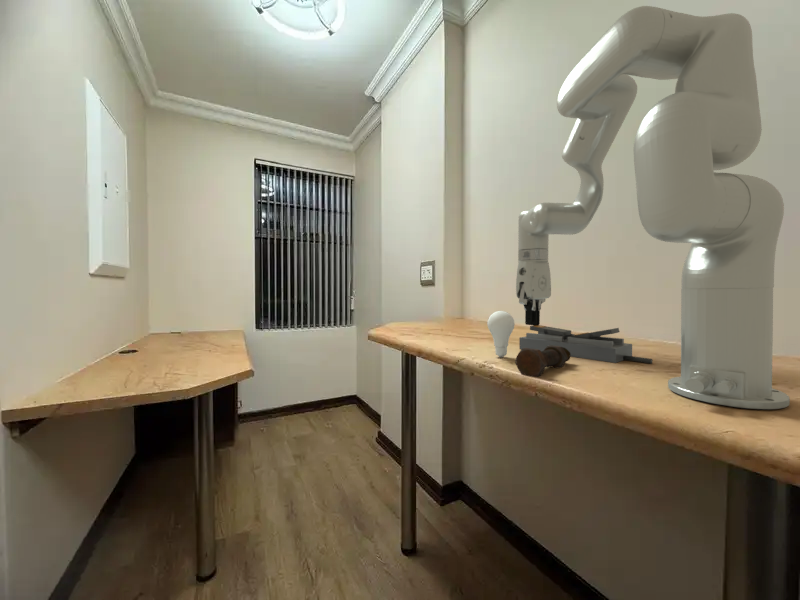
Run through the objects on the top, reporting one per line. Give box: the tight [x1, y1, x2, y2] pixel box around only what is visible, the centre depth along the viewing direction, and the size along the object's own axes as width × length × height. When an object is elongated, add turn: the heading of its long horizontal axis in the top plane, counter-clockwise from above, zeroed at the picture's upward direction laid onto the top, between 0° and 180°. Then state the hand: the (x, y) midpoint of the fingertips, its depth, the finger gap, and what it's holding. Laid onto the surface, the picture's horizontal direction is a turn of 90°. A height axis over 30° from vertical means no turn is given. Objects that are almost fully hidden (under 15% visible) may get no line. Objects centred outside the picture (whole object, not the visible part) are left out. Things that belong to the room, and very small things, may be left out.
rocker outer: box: [529, 324, 572, 336], centre depth 87 cm, size 4×9×1 cm, turn 36°
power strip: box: [518, 331, 653, 364], centre depth 80 cm, size 9×28×4 cm, turn 36°
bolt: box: [515, 345, 572, 378], centre depth 67 cm, size 6×5×15 cm
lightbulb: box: [487, 310, 516, 358], centre depth 79 cm, size 6×6×11 cm
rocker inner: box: [571, 327, 620, 338], centre depth 78 cm, size 4×9×1 cm, turn 36°
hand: (532, 324), depth 91 cm, fingers closed
